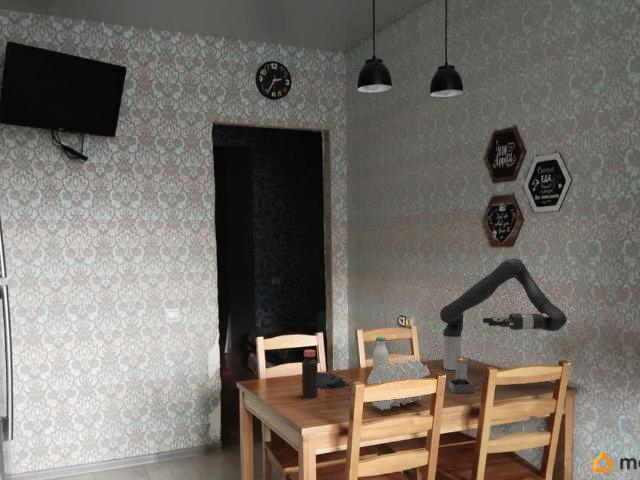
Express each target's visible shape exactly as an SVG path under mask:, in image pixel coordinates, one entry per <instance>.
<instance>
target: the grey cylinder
mask: <svg viewBox="0 0 640 480" xmlns="http://www.w3.org/2000/svg"><path fill="white" fill-rule="evenodd" d="M468 360H469V359H468V357H465V356H461V357H455V361H456V370H455V380H456V385H464V384H467V380H468V376H467V375H468V371H467V370H468Z"/></svg>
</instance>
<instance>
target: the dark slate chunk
mask: <svg viewBox="0 0 640 480" xmlns="http://www.w3.org/2000/svg"><path fill="white" fill-rule="evenodd" d="M348 386H350V383H349V382H347V381H346V380H343V377H339V376H337V375H335V374H333V373H326V372H318V390H319V389H320V390H325V391H326V390H332V389H340V388H344V387H348Z"/></svg>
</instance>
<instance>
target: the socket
mask: <svg viewBox="0 0 640 480" xmlns="http://www.w3.org/2000/svg"><path fill="white" fill-rule="evenodd" d="M474 387H475V385H474V384H473V383H472V382H471V381H470V380H468V379H467V384H464V385H456V379H449V380H448V389H449V390H450V391H451V392H452V393H453V394H474V393H475V388H474Z"/></svg>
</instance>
